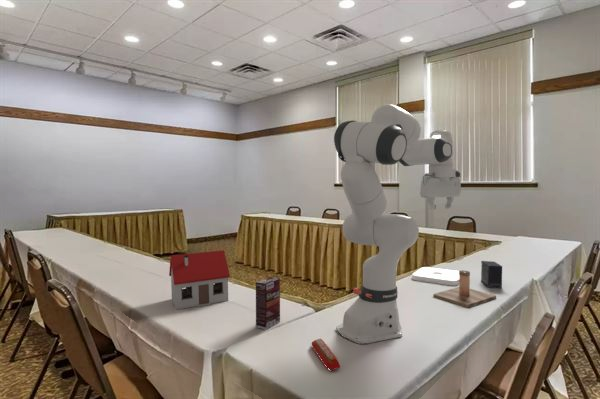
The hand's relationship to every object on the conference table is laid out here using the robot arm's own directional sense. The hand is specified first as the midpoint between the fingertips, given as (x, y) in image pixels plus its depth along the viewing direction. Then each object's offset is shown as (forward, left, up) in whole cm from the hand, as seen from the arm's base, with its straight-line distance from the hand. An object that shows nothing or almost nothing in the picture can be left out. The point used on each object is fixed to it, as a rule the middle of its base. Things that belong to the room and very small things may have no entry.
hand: (440, 208), depth 132 cm
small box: (+47, +6, -39) cm, 62 cm away
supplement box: (-64, +23, -39) cm, 79 cm away
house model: (-77, +64, -40) cm, 108 cm away
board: (+19, +2, -39) cm, 43 cm away
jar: (+19, +2, -38) cm, 42 cm away
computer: (+37, +28, -40) cm, 61 cm away
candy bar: (-61, -7, -40) cm, 73 cm away
